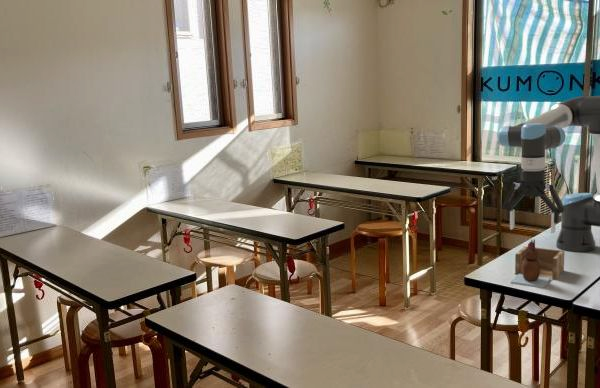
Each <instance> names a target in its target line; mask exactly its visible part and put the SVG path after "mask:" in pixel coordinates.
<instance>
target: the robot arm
mask: <svg viewBox="0 0 600 388" xmlns="http://www.w3.org/2000/svg"><path fill="white" fill-rule="evenodd" d="M567 127H587V130H588V134H589V135H591V136H592V137H593V138H592V140H593V142H592V143H593V154H594V155H593V156H594V168H595V169H594V170H595V183H596V185H595V186H596V193H595V194H594V195H593V193H591V192H578V193H577V192H576V193H569V194H565V195H564V196H563V197H562V198H561V199H562V200H561V199H560V197H559V195H558V193H557V190H556V185H555V183H551V184H546V171H545V168H546V150H551V149H557V148H558V147H561V146H562V145H563V144H564V143H565V141H566V137H567V136H566V135H567V134H566V132H565V130H564V128H567ZM497 134H498V135H497V137H498V138H497V139H498V143H499V145H500V146H502V147H507V148H521V155H520V156H521V157H520V159H521V160H520V164H521V165H520V167H521V171H520V183H517V182H516V181H515V182H512V183H511V184H510V190H509V192H508V194H507V195H506V198H505V199H504V201H503V203H502V205H501V208H502V209H504V210H506V218H507V220H509V230H514V229H515V209H514V207H515V206H516V205H517V204H518V203H519V202H520V201H521V200H522V199H523V198H524V197H527V198H528V197H529V198H530V197H533V198H538V197H539V198H540V200H541V199H542V200H543V202H544V203H545V204H546V205H547V207H548V209H550V210H551V212H552V213H551V214H550V215H551V216H550V223H551V224H550V233H551V234H554V233H556V224H558V223H559V220H560V217H561V221H560V223H561V224H560V226H561V227H560V231H559V234H558V236H557V238H556V241H555V246H556V247H557V248H558V249H559V250H562V251H567V252H568V251H569V252H578V253H579V252H591V251H595V250H596V241H595V238H594V235H593V231H592V227H598V228H600V95H594V96H592V95H591V96H583V95H582V96H577V97H573V98H570V99H567V100H564V101H562V102H559V103H556V104H554V105H553V106H552V107H551V108H550V109H549V110H547V111H545V112H544V113H541V114H539V115H536V116H535V117H532V118H530V119H528V120H526V121H523V122H521V123H519V124H516V125H514V126H512V125H508V126H503V127H501V128H500V129H499V131H498V133H497ZM519 188H520V190H521V191H520V194H518V195H517V196H516V198H515V199H514V200H513V201H512V202H511V200H512V197H513V196H514V194H515V192H516V190H518V189H519ZM546 189H547V191H548V192H550V195H551V197H552V200H551V199H550V197H549V196H548V195H547V193H546V192H545V190H546ZM553 201H554V202H553ZM510 202H511V203H510ZM509 203H510V204H509ZM554 203H555V204H554ZM560 214H561V216H560Z"/></svg>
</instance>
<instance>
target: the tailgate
mask: <svg viewBox="0 0 600 388" xmlns="http://www.w3.org/2000/svg"><path fill="white" fill-rule="evenodd" d="M551 280H552V279H551V278H546V277H538V279H537V280H536V281H527V280H525V279H524V278H523V274H518V275H515V277H514V278H513V279H512V280H511V281H510V284H515V285H519V286H520V285H521V286H528V287H534V288H541V289H544V288H545V287H546V285H547V284H548V283H549V282H550V281H551Z"/></svg>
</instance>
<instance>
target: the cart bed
mask: <svg viewBox="0 0 600 388" xmlns="http://www.w3.org/2000/svg"><path fill="white" fill-rule="evenodd" d="M527 248H528V246H523V247H522V248H521V249H520V250H518V252H516V253H515V258H514V260H515V261H514V262H515V263H514V267H515V269H514V270H515V271H514V275H515V276H517V275H518V274H523V273H522V262H523V260H524V259H525V257H524V251H525V249H527ZM535 249H537V251H538V258H537V260H538V261H539V264H540V274H539V277H546V278H551V279H550V280H552V281H557V279H558V278H559V277H560V275H562V273H564V271H565V250H563V249H550V248H545V247H543V248H542V247H535Z"/></svg>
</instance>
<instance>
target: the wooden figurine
mask: <svg viewBox="0 0 600 388" xmlns="http://www.w3.org/2000/svg"><path fill="white" fill-rule="evenodd" d="M530 240H531V241H529V243H527V247H528V248H527V249H525V251H524V257H525V259H524V260H523V262H522V273H523V278H524V279H525V280H527V281H536V280H537V279H538V277H539V274H540V264H539V261H538V260H537V258H538V251H537V249H535V248H536V240H535V239H530Z"/></svg>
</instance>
